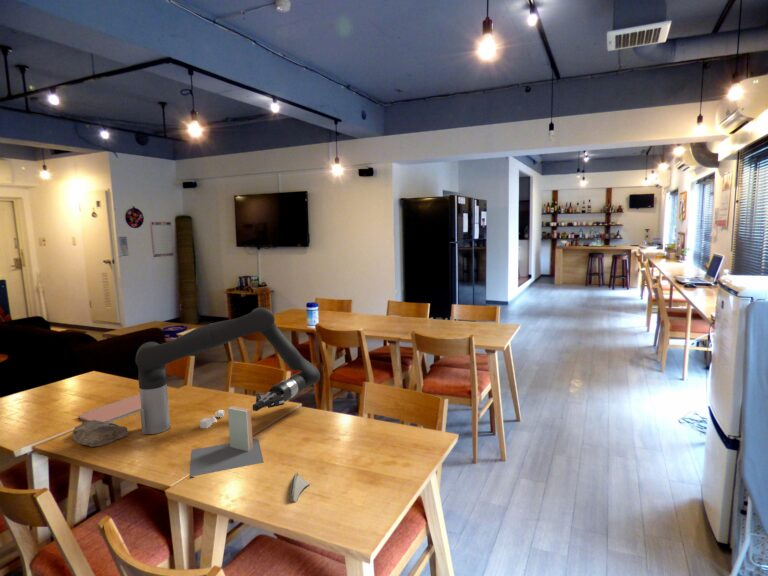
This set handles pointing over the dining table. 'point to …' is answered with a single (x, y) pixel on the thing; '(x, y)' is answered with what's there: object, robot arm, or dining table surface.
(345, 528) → the dining table surface
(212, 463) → the mat
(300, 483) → the ceramic fragment
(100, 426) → the grey rock
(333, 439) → the dining table surface
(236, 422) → the tile
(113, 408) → the notebook
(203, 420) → the game pieces
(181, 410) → the dining table surface
